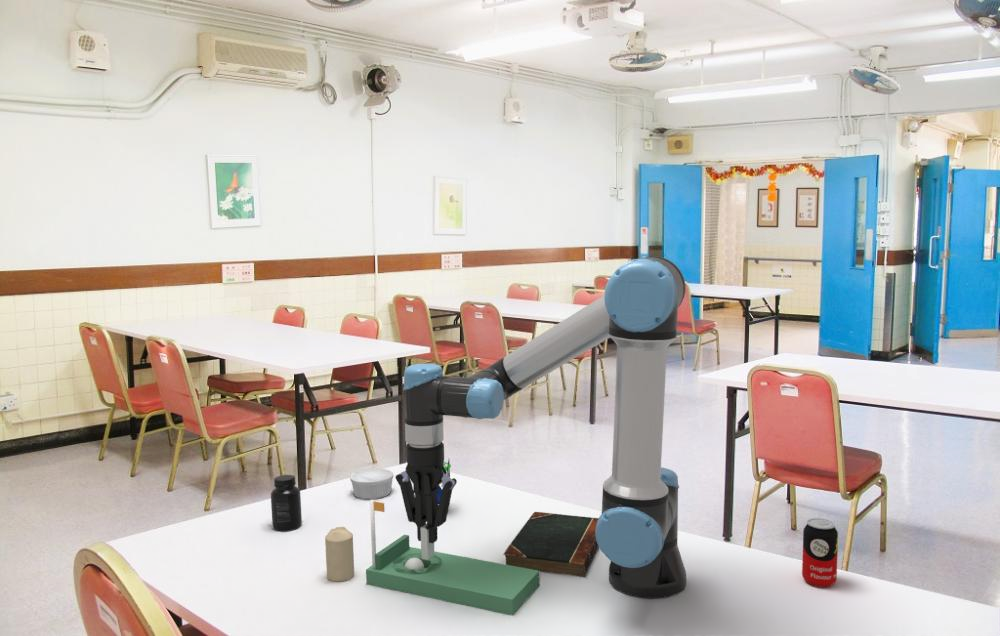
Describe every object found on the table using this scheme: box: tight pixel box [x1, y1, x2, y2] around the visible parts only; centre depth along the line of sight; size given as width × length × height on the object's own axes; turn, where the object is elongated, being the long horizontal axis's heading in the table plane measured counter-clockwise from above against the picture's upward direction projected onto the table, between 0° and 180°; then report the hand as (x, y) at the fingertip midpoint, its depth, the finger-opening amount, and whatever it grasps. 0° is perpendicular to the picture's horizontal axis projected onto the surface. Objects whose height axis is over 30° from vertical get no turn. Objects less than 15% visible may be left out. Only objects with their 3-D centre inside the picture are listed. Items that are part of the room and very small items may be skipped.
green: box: [365, 499, 540, 616], centre depth 158 cm, size 32×13×17 cm, turn 65°
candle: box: [324, 526, 355, 583], centre depth 163 cm, size 6×6×10 cm
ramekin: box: [349, 468, 394, 500], centre depth 212 cm, size 11×11×5 cm
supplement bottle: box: [270, 474, 303, 532], centre depth 190 cm, size 7×7×12 cm
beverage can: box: [801, 517, 839, 588], centre depth 157 cm, size 6×6×12 cm
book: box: [503, 511, 599, 578], centre depth 175 cm, size 17×4×25 cm
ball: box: [405, 558, 424, 570], centre depth 162 cm, size 4×4×4 cm
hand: (428, 556), depth 161 cm, fingers closed
